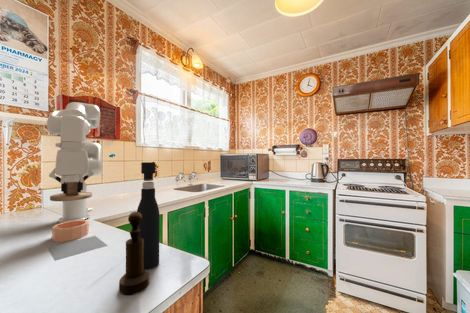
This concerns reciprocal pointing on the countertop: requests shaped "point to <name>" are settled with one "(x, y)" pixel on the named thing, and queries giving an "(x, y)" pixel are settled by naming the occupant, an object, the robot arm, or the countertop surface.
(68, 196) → the lid
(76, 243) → the mat
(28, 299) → the countertop surface
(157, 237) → the wine bottle
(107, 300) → the countertop surface
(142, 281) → the dark brown knobbed cylinder
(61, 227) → the bowl
